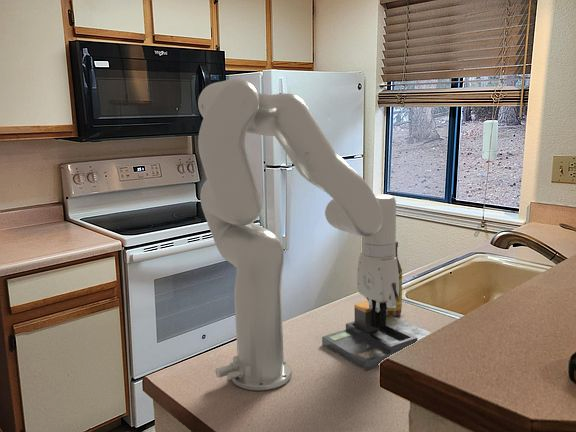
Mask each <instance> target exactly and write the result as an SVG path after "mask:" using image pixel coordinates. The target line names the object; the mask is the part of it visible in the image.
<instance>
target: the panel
mask: <svg viewBox="0 0 576 432" xmlns="http://www.w3.org/2000/svg"><path fill="white" fill-rule="evenodd" d="M430 333H432V332H430V331H428V330H426V329H425V328H422V327H419V326H417V325H415V324H412V323H410V322H408V321H405V320H403V319H401V318H399V317H398V316H389V317H387V316H386V325H385V326H382V327H379V328H378V330H375V331H372V332H369V333H368V332H366V331H364V330H362V329H360V328H358V327H356V326H355V320H354V321H352V322H347V323H345V329H344V330H339V331H337V332H333V333H330V334H326V335H324V336H322V337H321V342H322V343H321V345H322V346H324V347H325V348H327V349H328V350H330V351H332V352H334V353H335V354H337V355H338V356H340V357H342V358H343V359H345V360H346V361H348V362H350V363H351V364H353V365H355V366H357V367H359V368H360V369H361V370H364V371H365V372H367V371H370V370H372V369H375V368H378V367H380V366H379V365H378V364H379V363H380V362H381V361H382V360H384V359H385V358H387V357H389V356H390V355H392V354H394V353H396V352H398V351H400V350H402V349H403V348H405V347H407V346H409V345H411V344H413V343H415V342H416V341H418V340H419V339H421V338H423V337H425V336H427V335H429V334H430Z"/></svg>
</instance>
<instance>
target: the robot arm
mask: <svg viewBox="0 0 576 432" xmlns="http://www.w3.org/2000/svg"><path fill="white" fill-rule="evenodd" d="M197 105H198V106H197V107H198V110H199V114H200V115H201V117H202V118H203V119H202V121H201V124H200V127H199V132H198V137H197V139H198V140H197V142H198V145H197V146H198V147H197V148H198V153H199V157H200V160H201V165H202V168H203V171H204V176H205V177H206V180H205V181H204V183H203V185H202V187H201V190H200V197H199V199H200V205H201V209H202V212H203V215H204V217H205V220H206V223H207V226H208V227H209V230H210V234H211V236H212V239H213V242H214V243H215V247H216V248H217V250H218V252H219V254H220V255H221V257H222V258H223V259H224V260H225V261H226V262H228V263H230V264H231V265H233V266H234V267H235V268H236V276H235V282H234V290H233V291H234V294H233V295H234V296H233V297H234V298H233V300H234V301H233V303H234V313H235V314H234V316H235V334H236V335H235V337H236V351H237V353H236V354H237V355H235V356H233V357H232V362H229V364H227V365H224V366H220V367H217V368H216V369H215V374H216V377H217V378H218V379H221V378H223V377H227V379H228V380H229V381H230V380H231V382H232V383H233V384H234V385H236V386H237V387H239V388H242V389H244V390H249V391H267V390H274V389H276V388H279V387H282V386H283V385H285V384H286V383H288V381H290V379H291V377H292V373H293V372H292V367H291V365H290V363H288V362H287V361H285V360H284V358H285V357H284V331H283V330H284V329H283V327H284V326H283V304H282V303H283V302H282V282H283V281H282V277H283V269H284V263H285V250H284V247H283V244H282V242H281V240H280V238H279V237H278V236H277V235H276V234H275V233H274V232H272V231H270V230H269V229H267V228H265V227H262V226H261V225H257V224H255V223H254V222H255V221H256V220H257V219H258V218H259V217H260V214H261V212H262V210H263V209H262V208H263V202H262V201H263V200H262V198H261V197H262V196H261V192H260V191H259V186H258V185H257V181H256V180H255V176H254V173H253V171H252V167H251V164H250V161H249V158H248V154H247V150H246V135H247V133H249V134H252V135H253V134H254V135H261V136H268V137H274V138H276V140H277V141H278V143H279V145H280V146H281V147H282V149H283V151H284V152H285V153H286V155H287V157H288V158H289V159H290V162H291V163H292V164H293V166H294V167H295V169H296V171H297V172H298V173H299V175H301V176H302V177H303V178H304V179H305V180H306V181H307V182H309V183H311V184H312V185H314V186H315V187H317V188H319V189H320V190H322V191H323V192H325V193H326V194H327V195H329V197H331V198H332V199H331V200H330V201H329V202H328V203H327V205H326V207H325V210H324V216H325V219H326V222H327V223H328V224H329V225H330V226H332V227H333V228H335V229H337V230H339V231H343V232H346V233H349V234H353V235H355V236H359V237H361V252H360V254H359V258H358V262H357V263H358V264H357V271H356V272H357V275H356V290H357V293H359V294H360V295H362V296H363V297H364V298H365V299H366V300H367V301H368V302H369V308H370V309H372V310H371V326H373V327H375V328H379V327H382V326H385V325H386V317H387V316H386V310H388V308H393V307H396V299H398V296H399V272H398V264H397V258H396V257H395V256H396V241H397V239H396V238H397V237H396V235H397V233H396V232H397V230H396V229H397V200H396V198H395V197H394V196H393V195H391V194H386V193H374V192H373V190H372V189H371V188H370V186H369V184H368V183H367V181H366V180H365V179H364V178H363V177H362V176H361V175H360V174H359V173H358V172H357V171H356V170H355V169H354V168H353V167H351V165H350V164H349V163H348V162H347V161H346V160H345V159H344V158H343V157H342V156H340V155H339V154H338V153H337V152H336V150H335V149H334V148H333V146H332V145H331V143H330V141H329V139H328V138H327V137H326V135H325V133H324V132H323V130H322V128H321V126H320V125H319V123H318V122H317V120H316V119H315V117H314V115H313V113H312V112H311V110H310V109H309V106H308V105H307V104H306V103H305V101H304V100H303V99H302V98H301V97H300V96H298V95H297V94H293V93H286V92H285V93H275V94H266V93H260V92H258V91H257V89H256V87H255V86H254V85H253V84H252V83H251V82H249V81H247V80H245V79H239V78H233V79H232V78H231V79H227V80H222V81H217V82H214V83H210V84H208V85H207V86H205V87H204V88H203V89H202V91H201V93H200V94H199V96H198V100H197Z"/></svg>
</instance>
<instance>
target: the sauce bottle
mask: <svg viewBox="0 0 576 432" xmlns="http://www.w3.org/2000/svg"><path fill="white" fill-rule="evenodd" d="M398 247H399V242H398V240H396V256H395V257H396V258H397V264H398V272H399V296H398V299H396V307H393V308H388V310H386V317H389V316H394V317H398V316H400V315H401V313H402V308H403V269H402V266H401V264H400V261H399V258H398Z"/></svg>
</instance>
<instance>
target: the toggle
mask: <svg viewBox="0 0 576 432" xmlns="http://www.w3.org/2000/svg"><path fill="white" fill-rule="evenodd" d="M371 310H372V309H370V308H369V302H368V300H367V301H362V302H359V303H355V304H354V321H355V326H356V327H358V328H360V329H362V330H364V331H366V332H368V333H369V332H372V331H375V330H378V328H375V327H373V326H371Z"/></svg>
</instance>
